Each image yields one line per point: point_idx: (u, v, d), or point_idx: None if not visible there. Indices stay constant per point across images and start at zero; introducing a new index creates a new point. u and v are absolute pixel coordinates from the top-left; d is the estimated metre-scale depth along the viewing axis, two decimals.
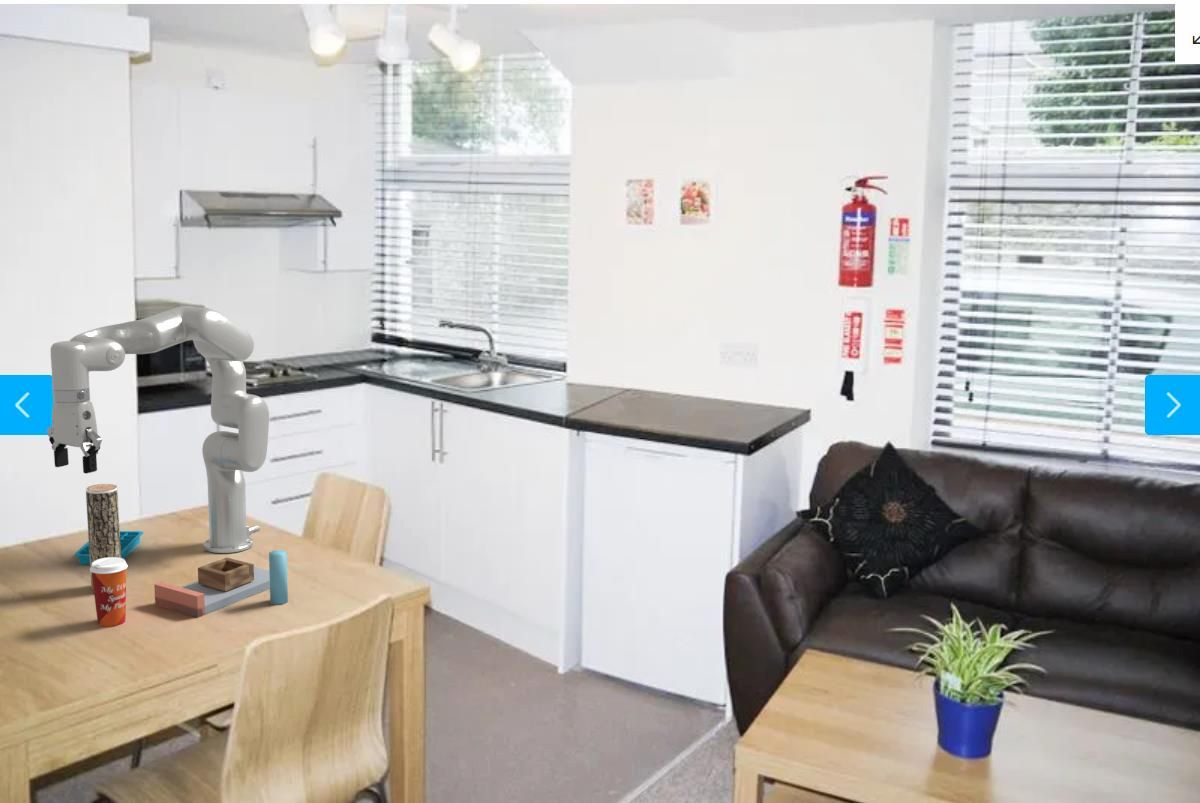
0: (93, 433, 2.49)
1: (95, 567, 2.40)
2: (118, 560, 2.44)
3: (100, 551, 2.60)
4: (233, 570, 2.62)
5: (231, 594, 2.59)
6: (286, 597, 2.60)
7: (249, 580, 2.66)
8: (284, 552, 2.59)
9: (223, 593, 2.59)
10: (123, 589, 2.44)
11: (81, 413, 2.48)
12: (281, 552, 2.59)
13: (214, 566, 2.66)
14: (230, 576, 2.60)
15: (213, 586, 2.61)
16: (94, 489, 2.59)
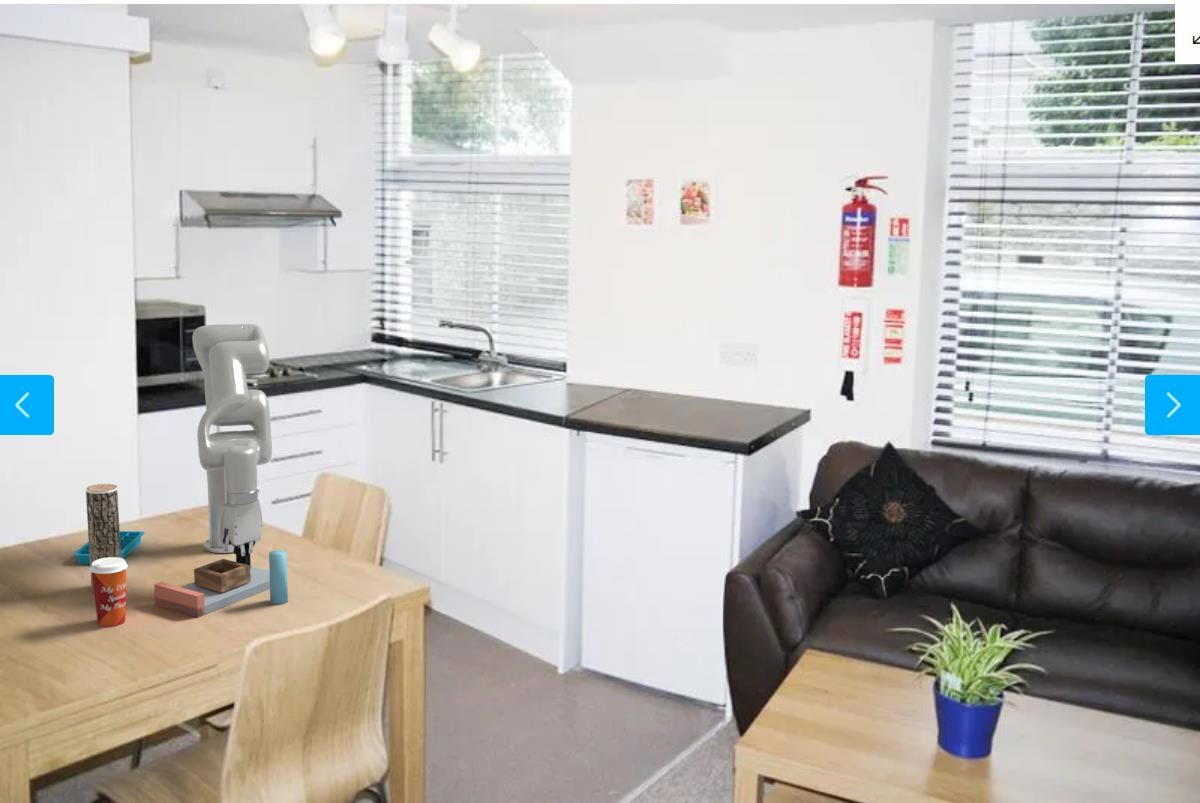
0: None
1: (95, 567, 2.40)
2: (118, 560, 2.44)
3: (100, 551, 2.60)
4: (229, 571, 2.61)
5: (231, 594, 2.59)
6: (286, 597, 2.60)
7: (245, 581, 2.65)
8: (284, 552, 2.59)
9: (223, 593, 2.59)
10: (123, 589, 2.44)
11: None
12: (281, 552, 2.59)
13: (210, 567, 2.65)
14: (226, 577, 2.59)
15: (209, 587, 2.60)
16: (94, 489, 2.59)
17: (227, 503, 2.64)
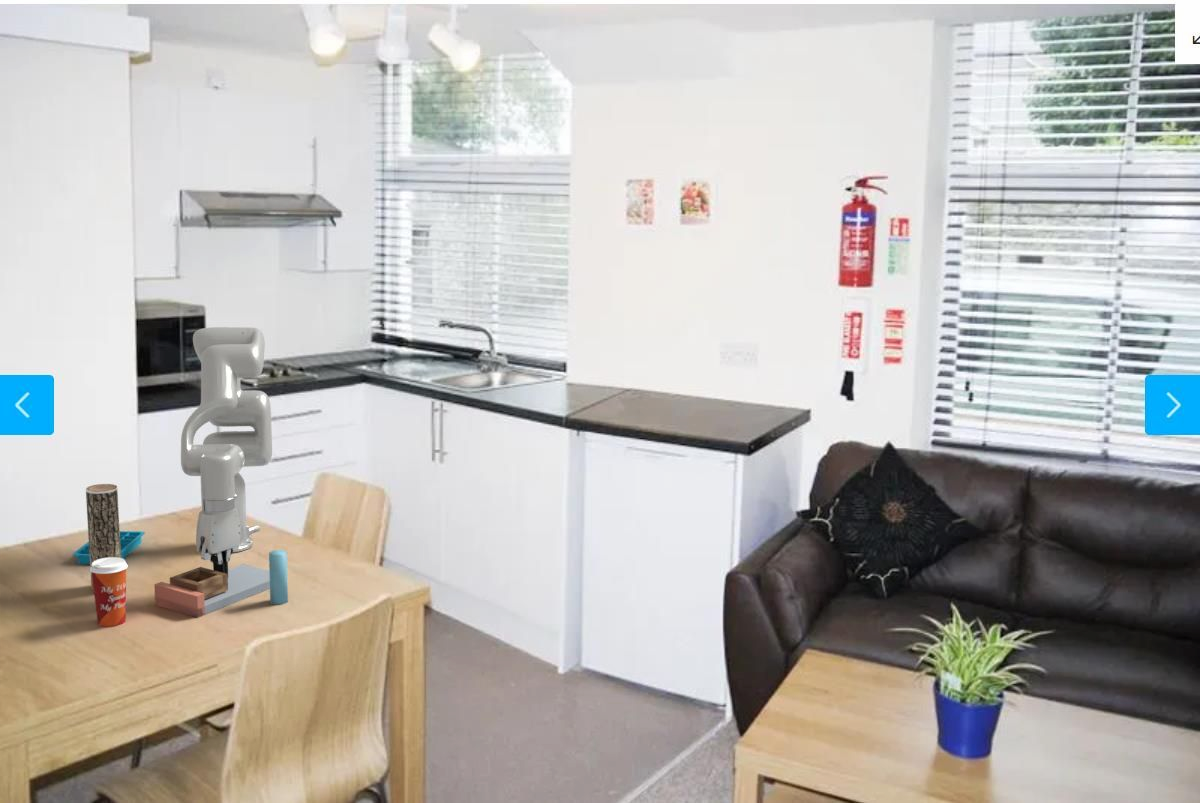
0: None
1: (95, 567, 2.40)
2: (118, 560, 2.44)
3: (100, 551, 2.60)
4: (206, 580, 2.55)
5: (231, 594, 2.59)
6: (286, 597, 2.60)
7: (223, 590, 2.59)
8: (284, 552, 2.59)
9: (223, 593, 2.59)
10: (123, 589, 2.44)
11: None
12: (281, 552, 2.59)
13: (187, 576, 2.58)
14: (203, 586, 2.53)
15: None
16: (94, 489, 2.59)
17: (204, 510, 2.58)
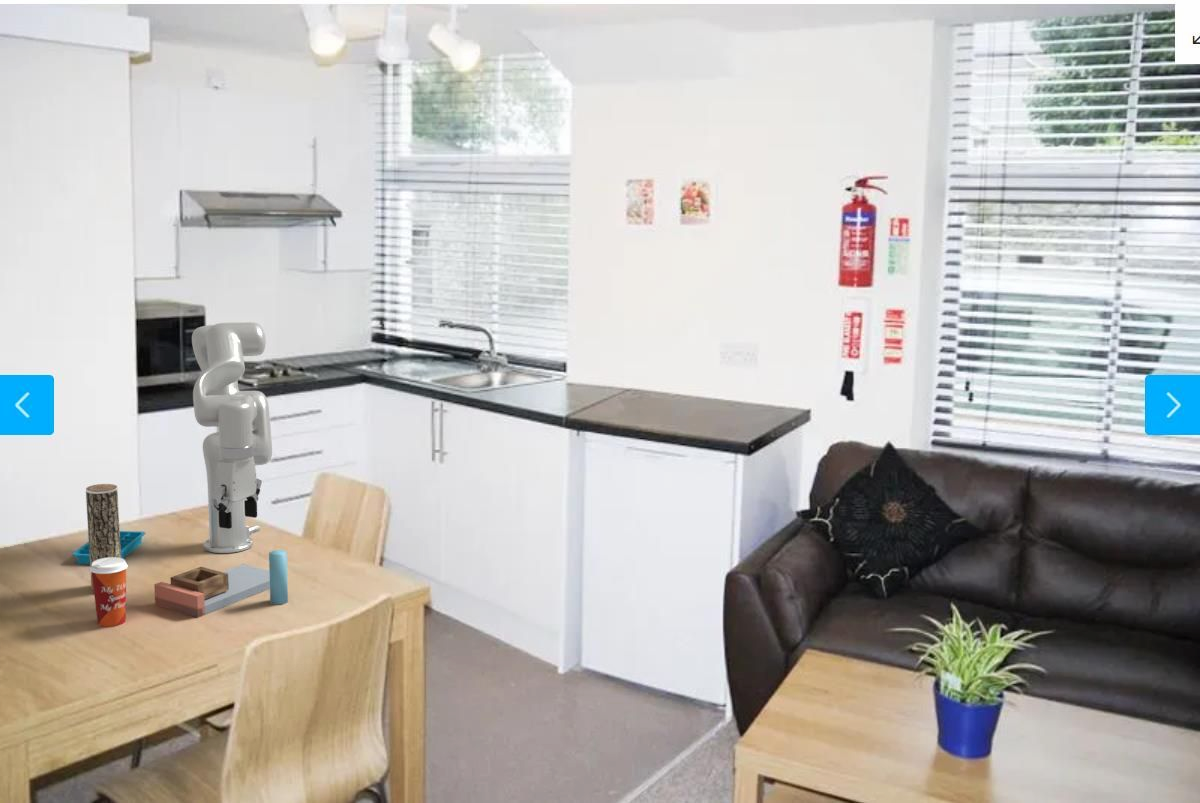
0: None
1: (95, 567, 2.40)
2: (118, 560, 2.44)
3: (100, 551, 2.60)
4: (206, 580, 2.55)
5: (231, 594, 2.59)
6: (286, 597, 2.60)
7: (223, 590, 2.59)
8: (284, 552, 2.59)
9: (223, 593, 2.59)
10: (123, 589, 2.44)
11: None
12: (281, 552, 2.59)
13: (187, 576, 2.59)
14: (203, 586, 2.53)
15: None
16: (94, 489, 2.59)
17: (223, 459, 2.58)
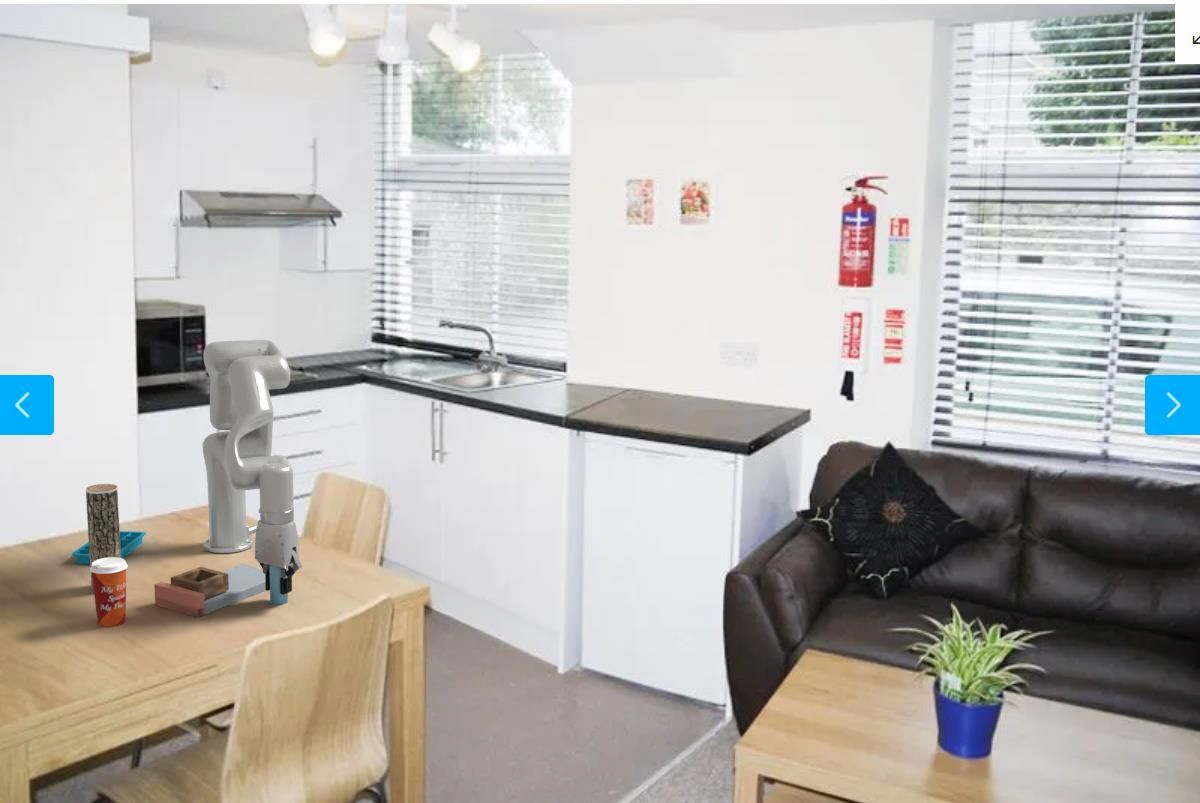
0: None
1: (95, 567, 2.40)
2: (118, 560, 2.44)
3: (100, 551, 2.60)
4: (206, 580, 2.55)
5: (231, 594, 2.59)
6: (286, 597, 2.60)
7: (223, 590, 2.59)
8: None
9: (223, 593, 2.59)
10: (123, 589, 2.44)
11: None
12: None
13: (187, 576, 2.59)
14: (203, 586, 2.53)
15: None
16: (94, 489, 2.59)
17: (286, 523, 2.55)
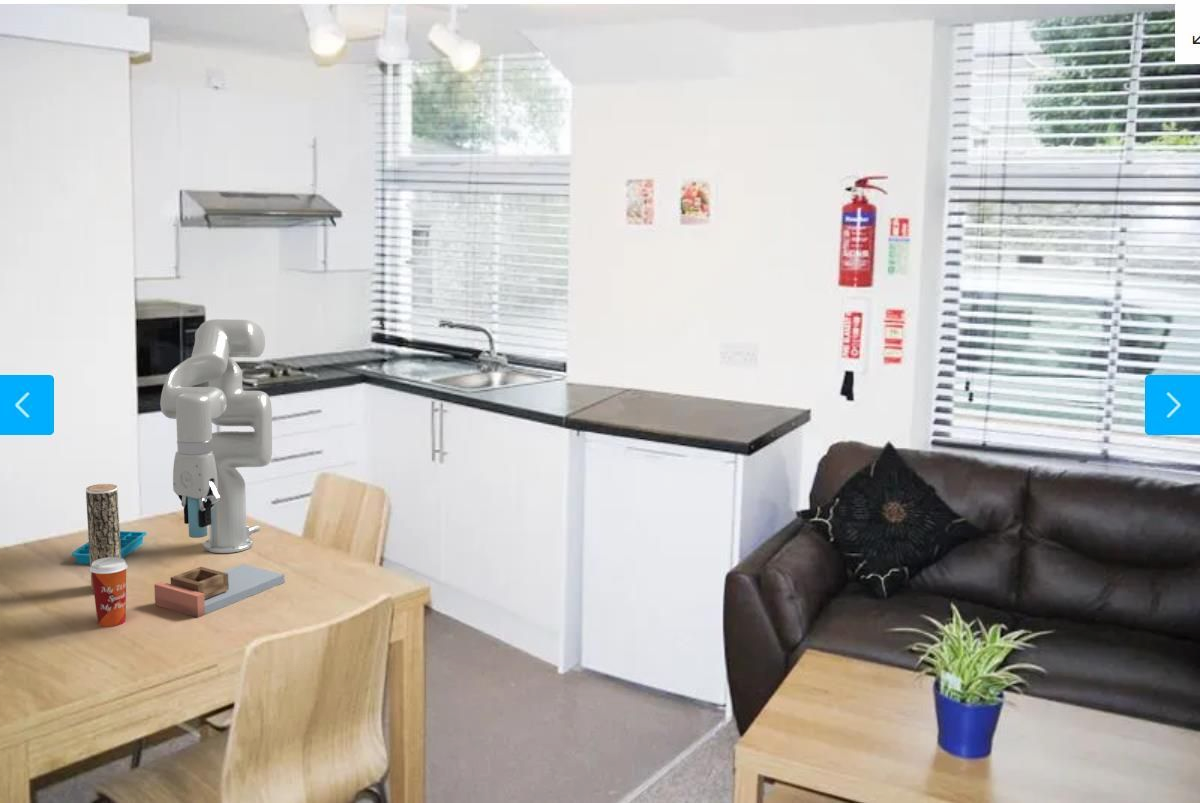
0: None
1: (95, 567, 2.40)
2: (118, 560, 2.44)
3: (100, 551, 2.60)
4: (206, 580, 2.55)
5: (231, 594, 2.59)
6: (205, 530, 2.55)
7: (223, 590, 2.59)
8: None
9: (223, 593, 2.59)
10: (123, 589, 2.44)
11: None
12: None
13: (187, 576, 2.59)
14: (203, 586, 2.53)
15: None
16: (94, 489, 2.59)
17: (203, 454, 2.50)
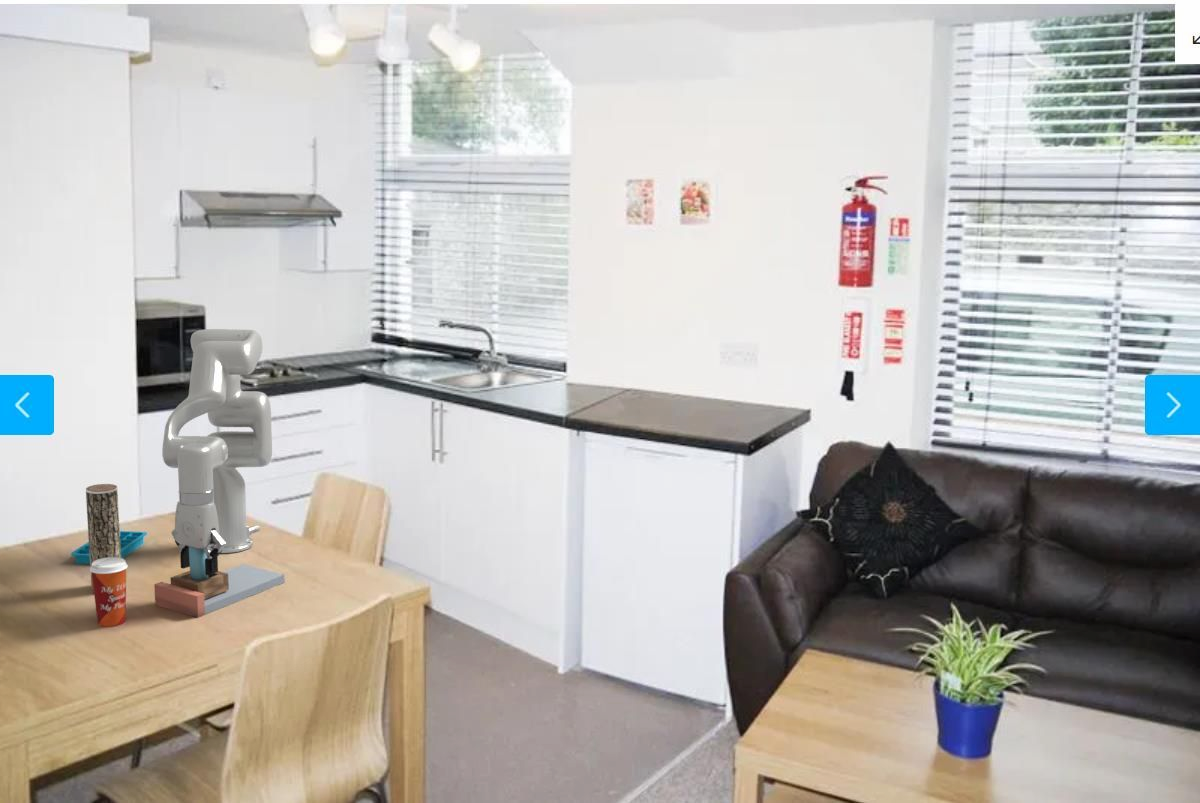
0: None
1: (95, 567, 2.40)
2: (118, 560, 2.44)
3: (100, 551, 2.60)
4: (206, 580, 2.55)
5: (231, 594, 2.59)
6: None
7: (223, 590, 2.59)
8: None
9: (223, 593, 2.59)
10: (123, 589, 2.44)
11: None
12: None
13: (187, 576, 2.59)
14: (203, 586, 2.53)
15: None
16: (94, 489, 2.59)
17: (205, 504, 2.52)
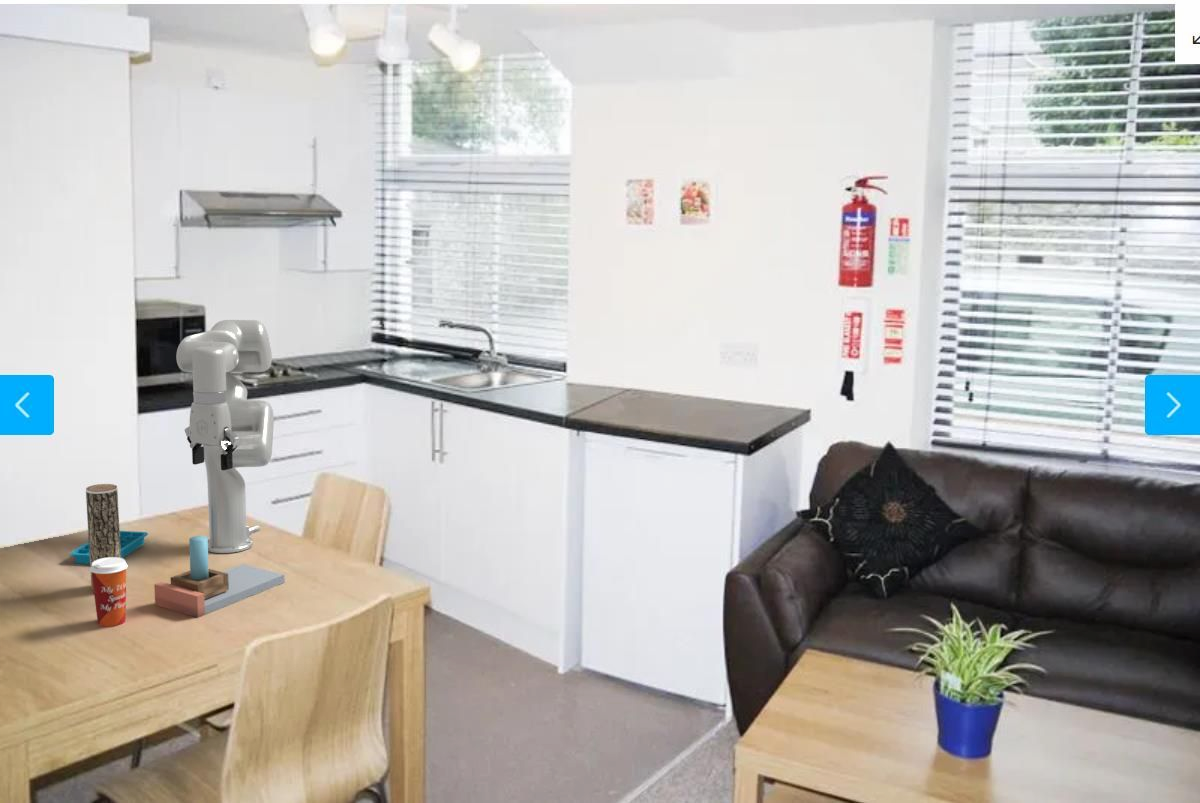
0: None
1: (95, 567, 2.40)
2: (118, 560, 2.44)
3: (100, 551, 2.60)
4: (206, 580, 2.55)
5: (231, 594, 2.59)
6: None
7: (223, 590, 2.59)
8: (205, 538, 2.57)
9: (223, 593, 2.59)
10: (123, 589, 2.44)
11: None
12: (202, 538, 2.56)
13: (187, 576, 2.59)
14: (203, 586, 2.53)
15: None
16: (94, 489, 2.59)
17: (218, 403, 2.65)
